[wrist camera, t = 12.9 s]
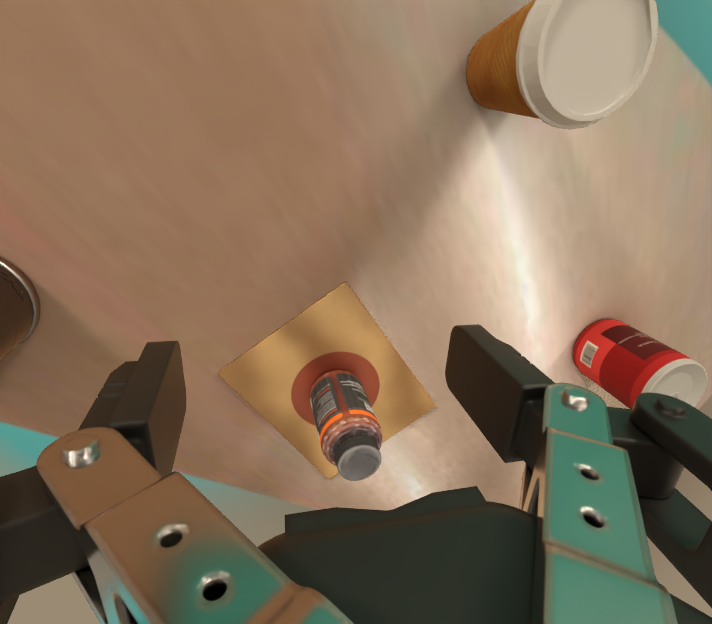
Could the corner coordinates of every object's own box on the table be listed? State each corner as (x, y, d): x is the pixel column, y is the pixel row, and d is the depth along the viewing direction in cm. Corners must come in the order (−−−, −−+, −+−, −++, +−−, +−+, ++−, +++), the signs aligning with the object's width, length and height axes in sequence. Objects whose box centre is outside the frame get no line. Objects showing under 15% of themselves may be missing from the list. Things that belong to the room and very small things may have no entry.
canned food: (581, 382, 55) (652, 438, 45) (562, 341, 51) (635, 391, 41) (630, 349, 54) (714, 398, 45) (615, 305, 51) (702, 347, 41)
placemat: (328, 478, 52) (328, 479, 51) (217, 372, 43) (217, 373, 42) (435, 405, 51) (436, 406, 51) (345, 281, 42) (346, 282, 42)
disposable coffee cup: (531, 133, 40) (633, 136, 29) (439, 122, 38) (514, 120, 27) (559, 15, 36) (687, -31, 26) (460, -5, 34) (555, -66, 23)
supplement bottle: (303, 410, 47) (317, 488, 36) (316, 364, 45) (335, 433, 34) (353, 415, 48) (380, 491, 38) (368, 371, 46) (400, 439, 36)
